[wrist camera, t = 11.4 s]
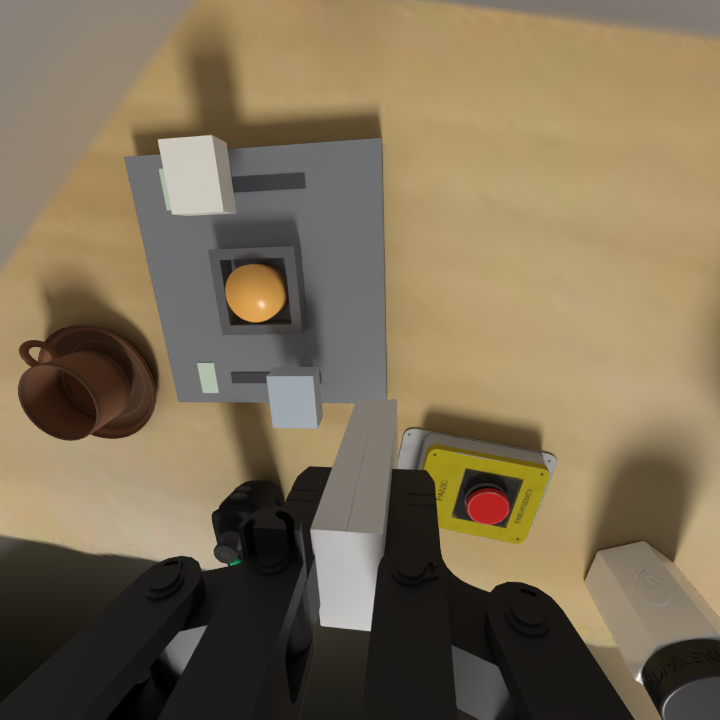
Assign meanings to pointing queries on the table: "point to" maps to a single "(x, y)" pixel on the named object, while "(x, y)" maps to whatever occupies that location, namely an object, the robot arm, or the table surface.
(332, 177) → the control panel
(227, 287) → the amber button
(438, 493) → the emergency button
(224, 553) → the controller
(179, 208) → the off-white rectangular box
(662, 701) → the jar
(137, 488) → the table surface
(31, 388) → the cup and saucer
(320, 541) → the robot arm
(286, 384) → the slate lever
